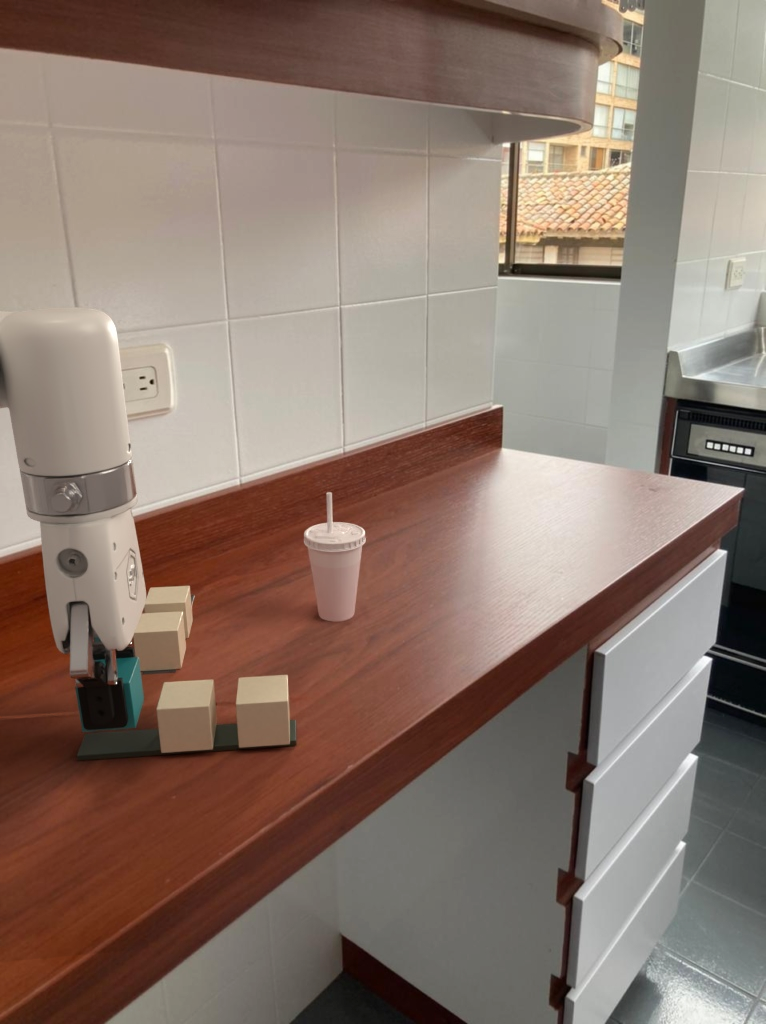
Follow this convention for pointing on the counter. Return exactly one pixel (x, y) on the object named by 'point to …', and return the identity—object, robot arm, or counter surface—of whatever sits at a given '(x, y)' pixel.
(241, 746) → the dark strip with cubes
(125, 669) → the teal rectangular block
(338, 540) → the smoothie
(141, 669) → the beige double cube
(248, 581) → the counter surface
